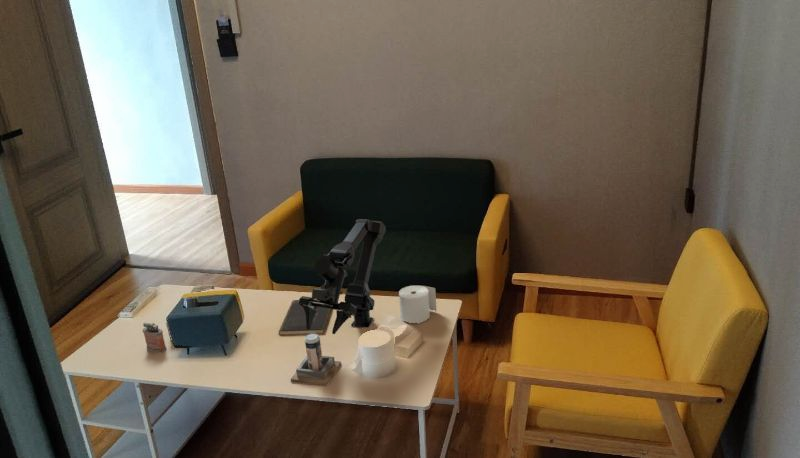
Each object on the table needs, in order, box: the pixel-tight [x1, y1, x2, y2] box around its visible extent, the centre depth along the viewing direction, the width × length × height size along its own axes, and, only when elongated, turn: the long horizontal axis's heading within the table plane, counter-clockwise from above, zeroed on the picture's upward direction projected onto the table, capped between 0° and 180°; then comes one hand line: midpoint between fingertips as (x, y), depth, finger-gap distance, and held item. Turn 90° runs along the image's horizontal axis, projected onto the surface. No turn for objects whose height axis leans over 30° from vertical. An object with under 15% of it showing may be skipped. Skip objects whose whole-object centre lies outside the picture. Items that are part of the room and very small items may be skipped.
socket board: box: [290, 355, 342, 387], centre depth 194 cm, size 12×12×4 cm
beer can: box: [304, 333, 324, 371], centre depth 193 cm, size 5×5×12 cm
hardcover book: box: [278, 299, 331, 336], centre depth 229 cm, size 16×23×2 cm
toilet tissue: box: [398, 285, 437, 324], centre depth 223 cm, size 11×12×10 cm
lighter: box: [142, 322, 167, 353], centre depth 214 cm, size 8×3×10 cm, turn 65°
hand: (320, 331), depth 195 cm, fingers open, 9 cm apart
